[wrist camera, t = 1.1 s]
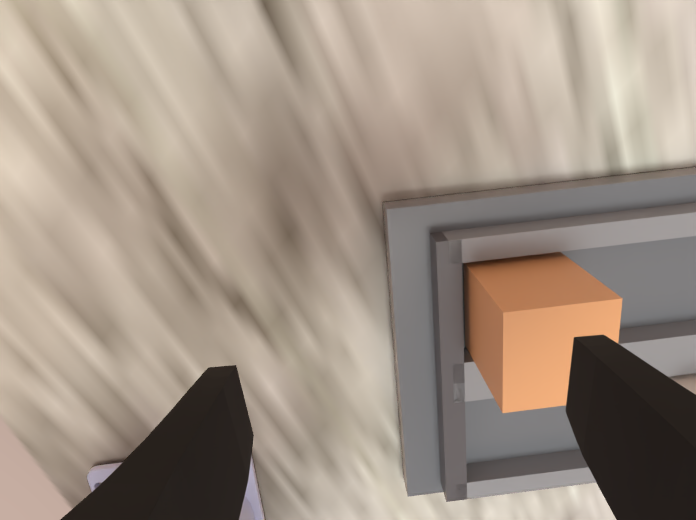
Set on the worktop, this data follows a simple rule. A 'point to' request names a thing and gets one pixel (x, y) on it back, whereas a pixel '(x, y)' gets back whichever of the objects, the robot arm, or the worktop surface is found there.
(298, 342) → the worktop surface
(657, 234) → the gray compartment tray
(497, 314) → the orange block
